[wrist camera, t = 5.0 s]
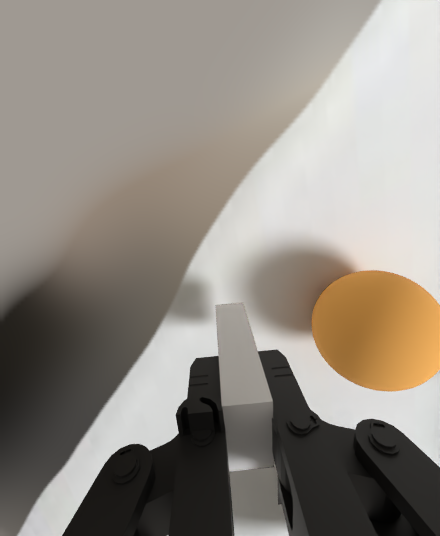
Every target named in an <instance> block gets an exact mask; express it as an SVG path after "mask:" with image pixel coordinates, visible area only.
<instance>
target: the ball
mask: <svg viewBox="0 0 440 536" xmlns="http://www.w3.org/2000/svg"><path fill="white" fill-rule="evenodd" d="M312 333H313V337H314V340H315V343H316V346H317V348H318V350H319V352H320V353H321V355H322V357H323V358H324V359H325V361H326V362H327V363H328V364H329V365H330V366H331V367H332V368H333V369H334V370H335V371H336V372H337V373H338V374H340V375H341V376H343V377H344V378H346V379H347V380H349V381H351V382H353V383H355V384H357V385H359V386H362V387H365V388H369V389H373V390H378V391H400V390H406V389H410V388H413V387H416V386H418V385H421V384H422V383H424V382H426V381H427V380H429V379H430V378H431V377H433V376H434V375H435V374H436V373H437V372H438V371H439V370H440V305H439V304H438V303H437V301H436V300H435V299H434V298H433V297H432V295H431V294H429V293H428V292H427V291H426V290H425V289H424V288H422V287H421V286H420V285H418V284H417V283H415V282H413V281H411V280H410V279H407V278H405V277H403V276H400V275H397V274H394V273H390V272H385V271H360V272H355V273H351V274H348V275H345V276H343V277H341V278H339V279H337V280H336V281H334V282H333V283H331V284H330V285H329V286H328V287H327V288H326V289H325V290H324V291H323V292H322V294H321V295H320V296H319V298H318V300H317V301H316V304H315V306H314V310H313V314H312Z"/></svg>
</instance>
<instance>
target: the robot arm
mask: <svg viewBox="0 0 440 536" xmlns="http://www.w3.org/2000/svg"><path fill="white" fill-rule="evenodd" d="M216 322H217V338H218V354H219V356H214V357H204V358H196V359H195V361H194V362H193V364H192V365H191V367H190V379H189V387H188V397H187V399H186V400H185V401H184V402H183V403H182V404H181V405H180V406H179V408H178V410H177V413H176V419H177V425H178V431H179V434H178V435H177V436H176V437H175V438H174V439H172V440H171V441H170V442H168V443H166V444H164V445H162V446H160V447H157V448H155V449H153V450H150V451H149V450H148V448H147V447H145V446H143V445H140V444H130V445H128V446H125V447H123V448H120V449H119V450H118V451H117V452H115V453H114V454H113V455H111V457H110V458H109V459H108V461H107V462H106V463H105V464H104V466H103V468H102V469H101V471H100V473H99V474H98V476H97V478H96V479H95V481H94V483H93V485H92V486H91V488H90V490H89V491H88V493H87V495H86V496H85V498H84V500H83V501H82V503H81V505H80V506H79V508H78V510H77V512H76V513H75V515H74V517H73V518H72V520H71V522H70V523H69V525H68V527H67V528H66V530H65V532H64V534H63V535H62V536H167V535H169V536H234V525H233V512H232V499H231V488H230V476H229V472H231V471H240V470H250V469H259V468H269V467H274V461H275V465H276V469H277V473H278V505H279V504H282V506H283V511H284V515H285V519H286V524H287V528H288V532H289V536H440V467H439V466H438V465H437V464H435V463H434V462H433V461H432V460H431V459H430V458H429V457H428V456H427V455H426V454H425V453H424V452H423V451H421V450H420V449H419V448H418V447H417V446H416V445H415V444H414V443H413V442H412V441H411V440H410V439H409V438H407V437H406V436H405V435H404V434H403V433H402V432H401V431H399V430H398V429H397V428H395V427H394V426H392V425H390V424H388V423H386V422H384V421H381V420H375V419H367V420H362V421H361V422H360V423H358V424H357V427H356V430H354V429H349V428H344V427H339V426H335V425H332V424H329V423H326V422H324V421H322V420H321V419H320V418H319V417H318V415H317V414H316V413H314V412H313V411H311V410H310V408H309V407H308V405H307V403H306V400H305V398H304V396H303V394H302V392H301V389H300V387H299V385H298V383H297V381H296V379H295V376H294V375H293V372H292V370H291V368H290V365H289V363H288V361H287V359H286V357H285V356H284V355H283V354H282V353H281V352H279V351H278V350H268V351H257V347H256V344H255V341H254V337H253V334H252V331H251V328H250V324H249V321H248V318H247V314H246V311H245V308H244V304H243V303H233V304H222V305H216Z"/></svg>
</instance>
